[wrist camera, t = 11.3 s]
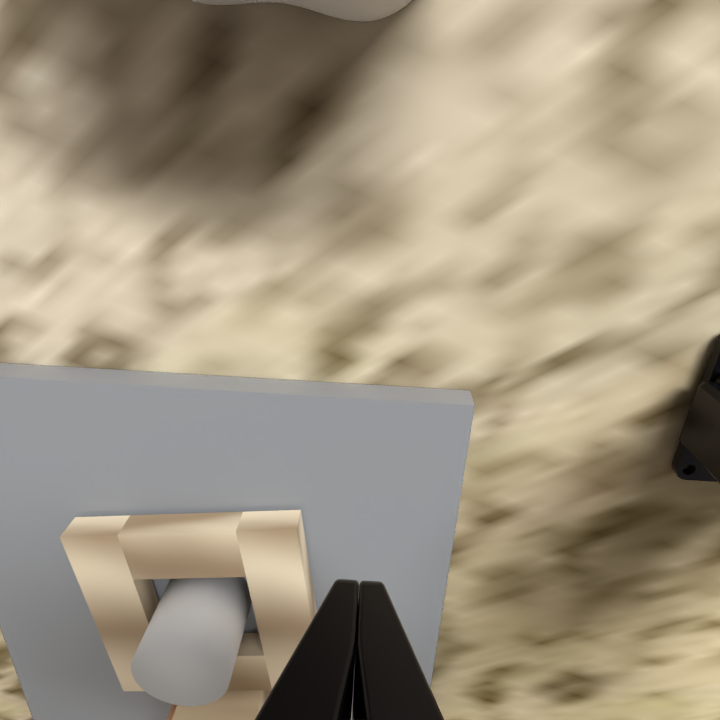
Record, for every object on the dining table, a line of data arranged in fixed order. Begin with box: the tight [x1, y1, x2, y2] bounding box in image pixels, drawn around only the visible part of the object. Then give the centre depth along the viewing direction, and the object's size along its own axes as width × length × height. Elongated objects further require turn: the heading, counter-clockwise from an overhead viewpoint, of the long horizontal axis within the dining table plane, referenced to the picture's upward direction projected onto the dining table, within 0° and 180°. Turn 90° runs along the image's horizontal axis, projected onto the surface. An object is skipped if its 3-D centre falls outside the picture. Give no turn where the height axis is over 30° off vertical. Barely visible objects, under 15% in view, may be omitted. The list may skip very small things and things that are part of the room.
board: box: [0, 363, 475, 720], centre depth 23 cm, size 22×22×5 cm
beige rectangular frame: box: [60, 510, 317, 720], centre depth 24 cm, size 16×10×4 cm, turn 4°
